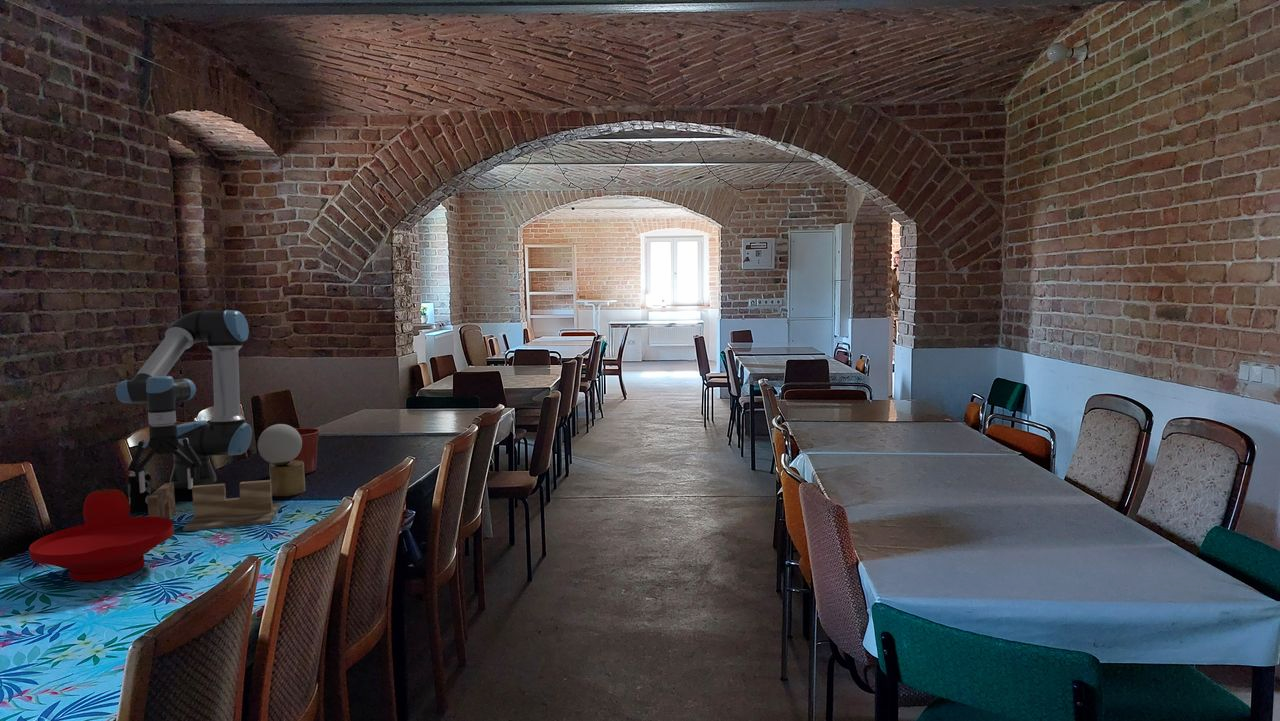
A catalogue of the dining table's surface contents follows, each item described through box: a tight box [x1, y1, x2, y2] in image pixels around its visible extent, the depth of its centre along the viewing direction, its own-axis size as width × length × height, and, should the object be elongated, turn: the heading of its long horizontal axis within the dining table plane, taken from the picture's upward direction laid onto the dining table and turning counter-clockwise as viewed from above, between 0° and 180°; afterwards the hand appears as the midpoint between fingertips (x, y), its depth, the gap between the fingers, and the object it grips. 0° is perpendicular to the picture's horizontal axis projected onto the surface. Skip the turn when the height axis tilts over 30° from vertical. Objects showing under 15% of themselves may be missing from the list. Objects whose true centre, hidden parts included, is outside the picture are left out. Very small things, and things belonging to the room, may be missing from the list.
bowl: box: [28, 516, 175, 582], centre depth 199 cm, size 30×30×10 cm
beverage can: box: [126, 471, 153, 512], centre depth 256 cm, size 7×7×12 cm
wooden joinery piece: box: [182, 479, 281, 532], centre depth 244 cm, size 20×24×11 cm
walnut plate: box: [147, 482, 176, 520], centre depth 242 cm, size 18×2×10 cm, turn 17°
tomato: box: [82, 487, 131, 524], centre depth 230 cm, size 13×11×14 cm
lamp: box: [257, 423, 306, 498], centre depth 271 cm, size 15×14×25 cm
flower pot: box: [293, 427, 321, 475], centre depth 305 cm, size 16×16×16 cm
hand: (166, 490), depth 248 cm, fingers open, 13 cm apart
